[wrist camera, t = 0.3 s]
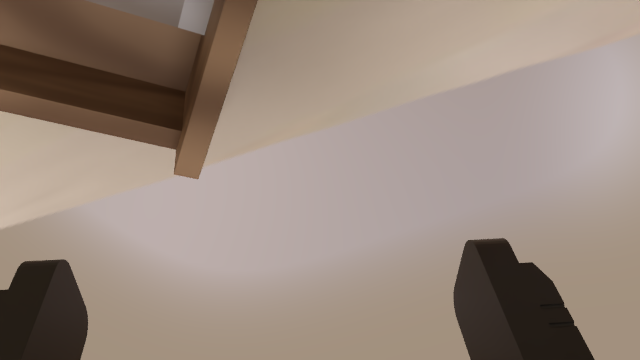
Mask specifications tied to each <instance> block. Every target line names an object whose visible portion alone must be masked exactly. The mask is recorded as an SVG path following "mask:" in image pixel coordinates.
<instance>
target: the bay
mask: <svg viewBox="0 0 640 360" xmlns="http://www.w3.org/2000/svg"><path fill="white" fill-rule="evenodd" d="M257 1H258V0H0V111H4V112H9V113H13V114H18V115H22V116H27V117H31V118H36V119H40V120H45V121H49V122H54V123H58V124H63V125H67V126H72V127H76V128H81V129H85V130H90V131H94V132H99V133H103V134H108V135H113V136H117V137H122V138H126V139H131V140H135V141H140V142H144V143H149V144H153V145H158V146H162V147H167V148H171V149H176V159H175V168H174V174H175V175H180V176H185V177H190V178H195V179H198V178H199V175H200V172H201V169H202V166H203V163H204V160H205V157H206V154H207V151H208V148H209V145H210V142H211V139H212V136H213V133H214V130H215V127H216V124H217V121H218V118H219V115H220V112H221V109H222V106H223V103H224V100H225V97H226V94H227V91H228V88H229V85H230V82H231V79H232V76H233V73H234V70H235V67H236V64H237V61H238V58H239V55H240V52H241V49H242V46H243V43H244V40H245V37H246V34H247V31H248V28H249V25H250V22H251V19H252V16H253V13H254V10H255V7H256V4H257Z"/></svg>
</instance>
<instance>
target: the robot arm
mask: <svg viewBox="0 0 640 360" xmlns="http://www.w3.org/2000/svg"><path fill="white" fill-rule="evenodd" d="M454 308H455V313H456V317H457V320H458V323H459V326H460V329H461V332H462V335H463V338H464V341H465V344H466V347H467V350H468V353H469V356H470V359H471V360H594V358H593V356H592V354H591V352H590V350H589V348H588V347H587V345H586V343H585V341H584V340H583V337H582V335H581V333H580V332H579V330H578V328H577V326H574V320H573V319H572V317H571V315H570V313H569V311H568V310H567V308H565V307H564V302H563V300H562V298H561V296H560V294H559V293H558V291H557V289H556V287H555V285H554V283H553V281H552V280H550V278H548V277H547V276H546V275H545V274H544V273H543V272H542V271H541V270H540V269H539V268H538V267H537V266H536V265H534V264H533V263H519V262H518V260H517V258H516V256H515V254H514V252H513V250H512V248H511V246H510V244H509V242H508V241H507V240H506V239H504V238H501V239H483V240H482V239H481V240H468V241H467V242H466V244H465V247H464V250H463V254H462V258H461V262H460V267H459V271H458V275H457V279H456V283H455V287H454ZM87 330H88V316H87V310H86V306H85V304H84V301H83V298H82V296H81V293H80V291H79V288H78V285H77V283H76V280H75V278H74V275H73V272H72V270H71V267H70V265H69V263H68V262H67V261H66V260H45V261H25V262H23V263H22V264H21V265H20V266H19V268H18V269H17V272H16V274H15V276H14V278H13V280H12V282H11V285H10V287H9V289H8V290H0V360H80V358H81V355H82V352H83V347H84V344H85V341H86V337H87Z"/></svg>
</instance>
